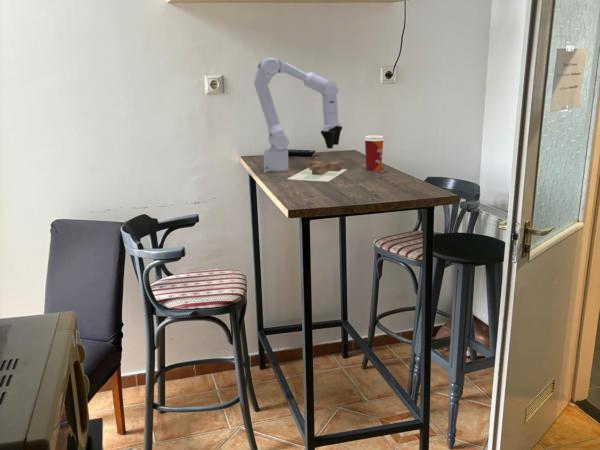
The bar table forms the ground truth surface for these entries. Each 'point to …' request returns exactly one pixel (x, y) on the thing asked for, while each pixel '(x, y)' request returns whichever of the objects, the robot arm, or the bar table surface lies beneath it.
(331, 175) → the board
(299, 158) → the bar table surface
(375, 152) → the paper cup
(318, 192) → the bar table surface
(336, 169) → the t block
